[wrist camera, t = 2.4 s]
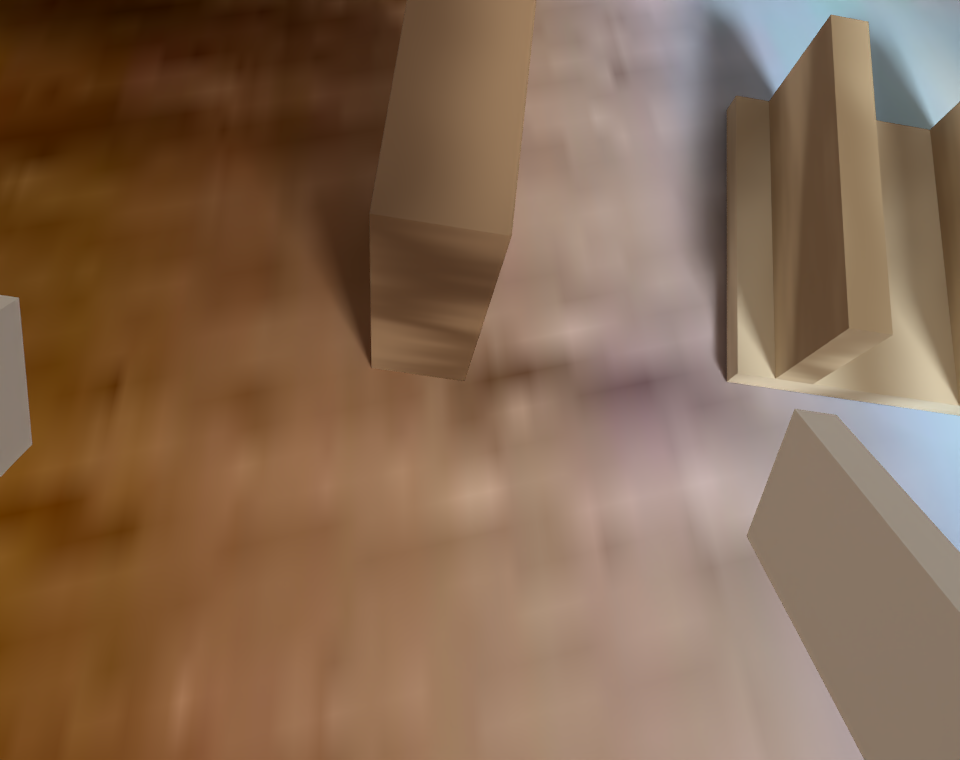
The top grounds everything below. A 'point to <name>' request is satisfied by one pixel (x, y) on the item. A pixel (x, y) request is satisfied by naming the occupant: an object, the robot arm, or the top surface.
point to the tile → (446, 180)
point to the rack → (842, 238)
